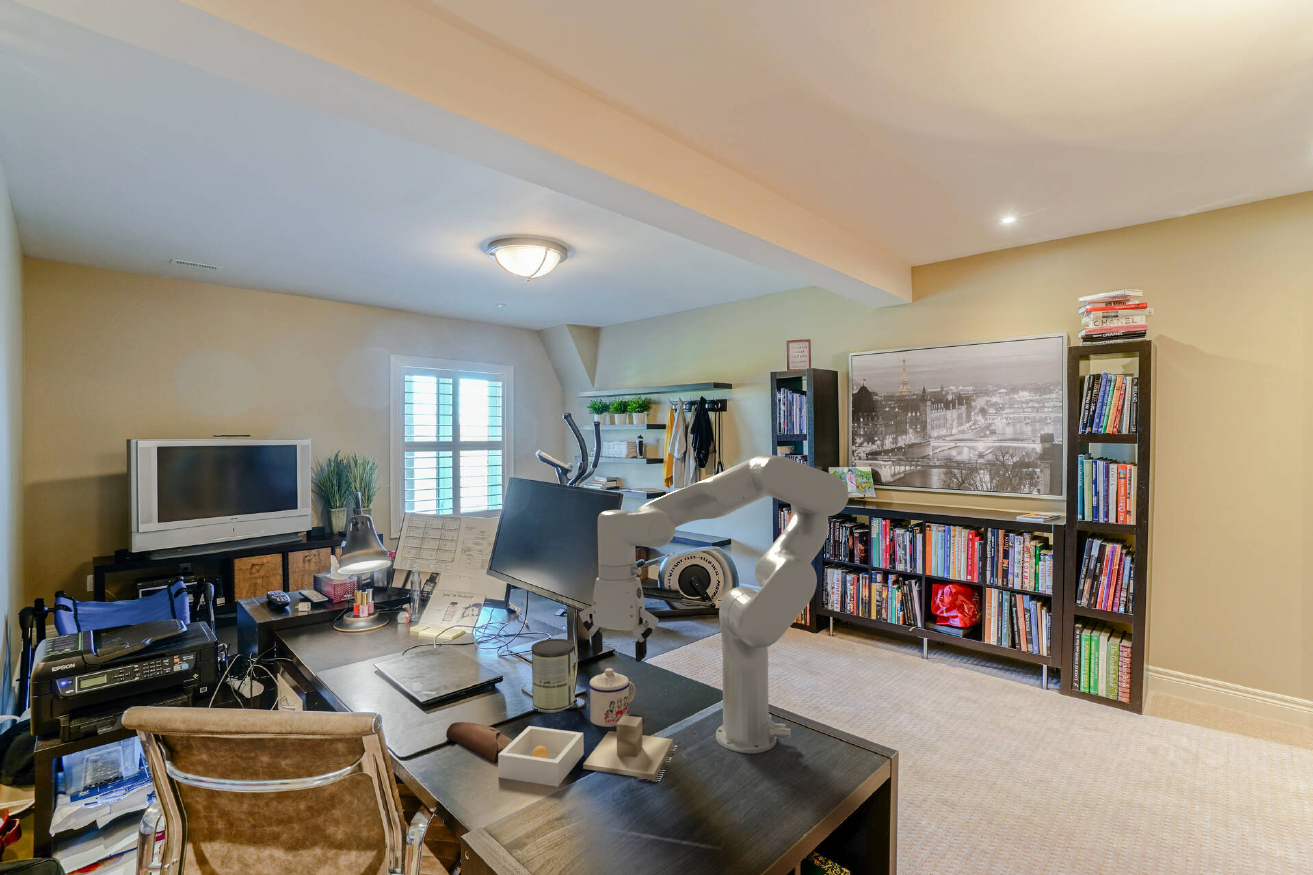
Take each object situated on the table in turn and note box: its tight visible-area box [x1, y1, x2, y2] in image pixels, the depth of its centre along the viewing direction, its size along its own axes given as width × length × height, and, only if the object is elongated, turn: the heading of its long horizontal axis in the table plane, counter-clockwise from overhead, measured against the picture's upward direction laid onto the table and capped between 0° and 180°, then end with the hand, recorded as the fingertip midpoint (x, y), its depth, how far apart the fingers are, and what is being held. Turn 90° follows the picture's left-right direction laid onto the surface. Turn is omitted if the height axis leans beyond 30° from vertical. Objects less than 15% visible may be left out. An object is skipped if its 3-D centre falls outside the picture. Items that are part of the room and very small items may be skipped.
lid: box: [582, 715, 674, 782], centre depth 123 cm, size 14×14×7 cm
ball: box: [532, 746, 548, 758], centre depth 121 cm, size 3×3×3 cm
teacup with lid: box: [588, 667, 636, 728], centre depth 141 cm, size 12×9×12 cm
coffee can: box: [530, 638, 576, 714], centre depth 150 cm, size 10×10×14 cm
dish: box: [497, 725, 585, 788], centre depth 120 cm, size 12×12×5 cm
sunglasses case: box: [445, 721, 514, 764], centre depth 129 cm, size 18×7×7 cm
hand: (618, 656), depth 126 cm, fingers open, 9 cm apart
